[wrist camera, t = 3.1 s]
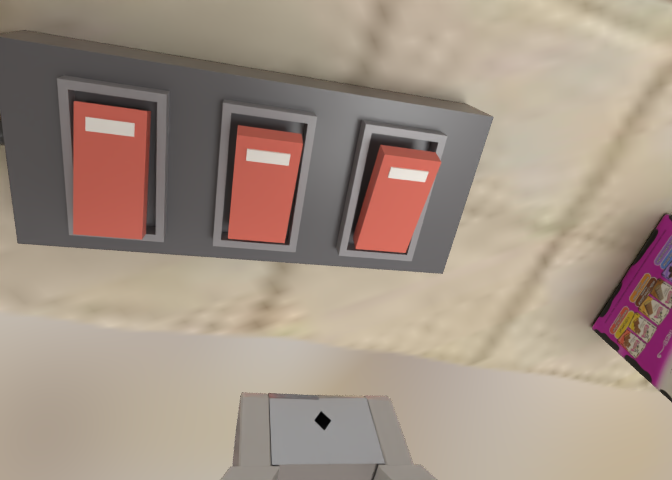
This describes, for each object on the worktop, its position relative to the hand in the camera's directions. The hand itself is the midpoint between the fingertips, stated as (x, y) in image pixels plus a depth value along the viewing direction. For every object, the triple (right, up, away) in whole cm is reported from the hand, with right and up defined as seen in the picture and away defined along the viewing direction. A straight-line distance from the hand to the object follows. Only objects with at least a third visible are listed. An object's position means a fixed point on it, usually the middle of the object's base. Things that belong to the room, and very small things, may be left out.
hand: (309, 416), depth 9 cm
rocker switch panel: (-6, +9, +18) cm, 21 cm away
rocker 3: (+4, +6, +16) cm, 17 cm away
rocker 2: (-3, +6, +14) cm, 16 cm away
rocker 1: (-10, +7, +12) cm, 17 cm away
